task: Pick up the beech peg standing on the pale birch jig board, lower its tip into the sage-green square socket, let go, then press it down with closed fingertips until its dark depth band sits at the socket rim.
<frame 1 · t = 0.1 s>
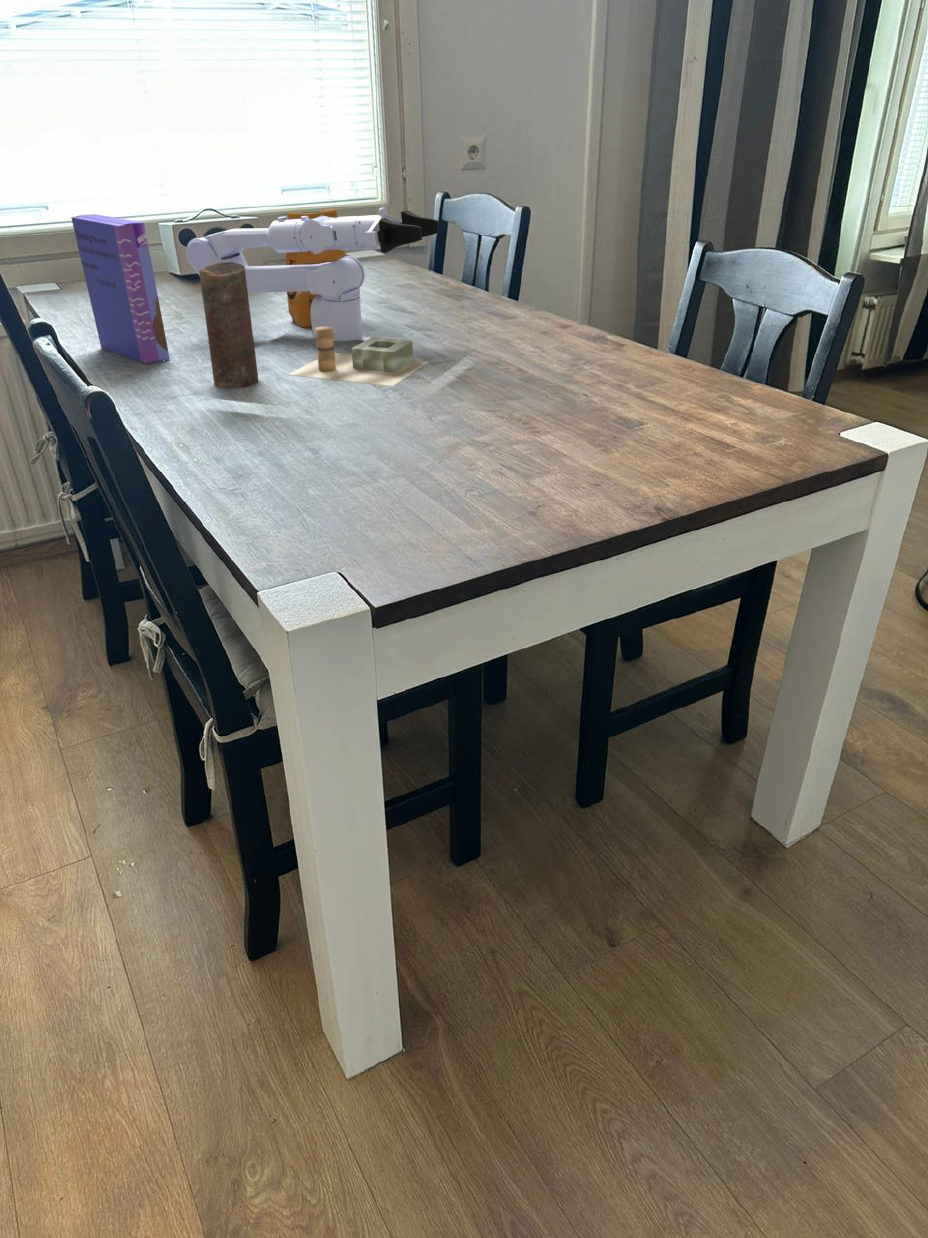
hand: (429, 229, 155), 22 cm above the table, tool horizontal, fingers open, 7 cm apart
cereal box: (135, 354, 168), on the table
coffee package: (320, 322, 189), on the table
candle: (238, 391, 148), on the table
peg: (327, 369, 152), point 1 cm above the table, touching board
board: (360, 376, 154), on the table
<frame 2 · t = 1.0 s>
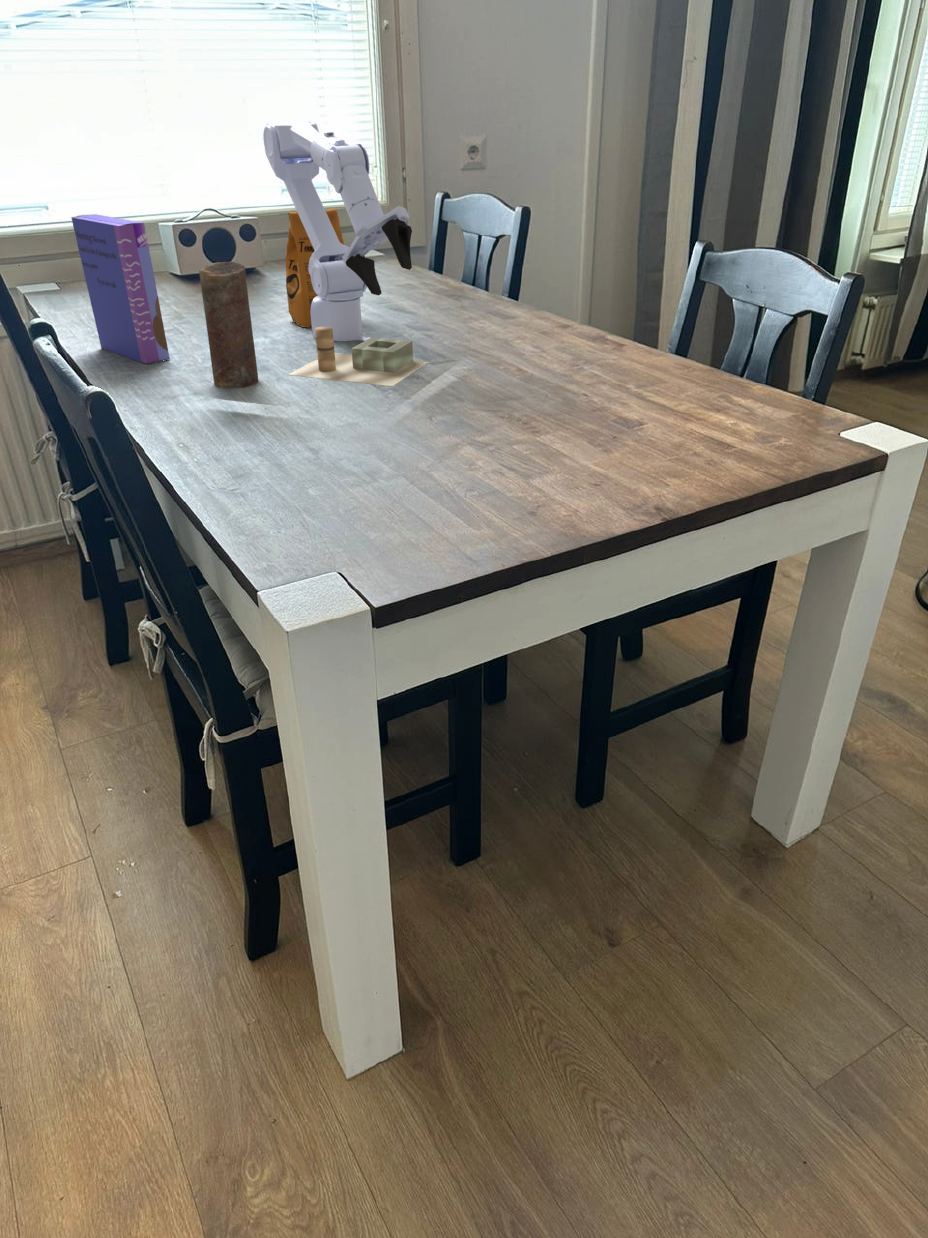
hand: (391, 280, 148), 15 cm above the table, tool tilted 45°, fingers open, 7 cm apart
nothing on the table moved.
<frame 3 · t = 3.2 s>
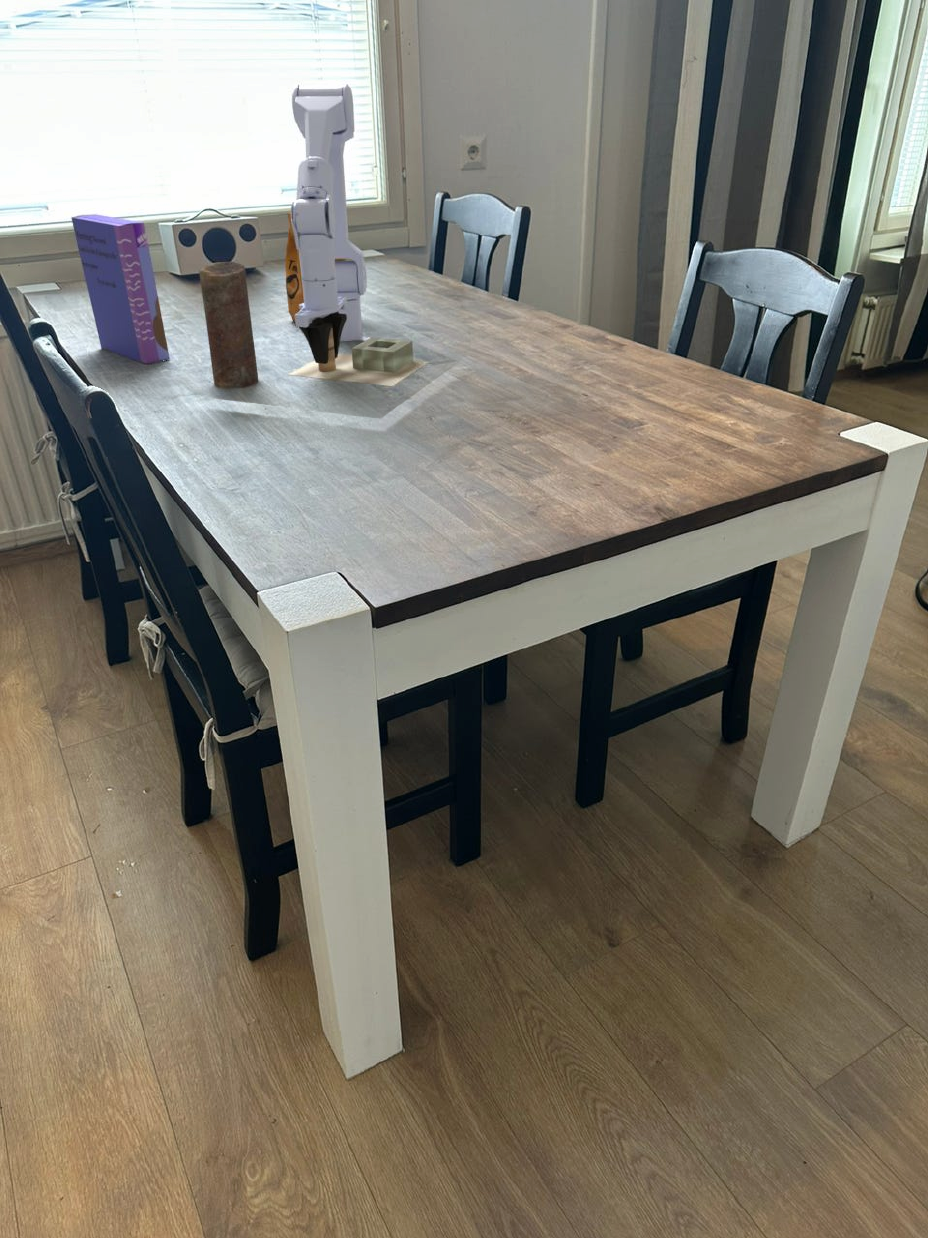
hand: (326, 360, 152), 3 cm above the table, tool pointing down, fingers closed on peg, 3 cm apart
peg: (327, 369, 152), point 1 cm above the table, touching board, gripper
everything else where it was.
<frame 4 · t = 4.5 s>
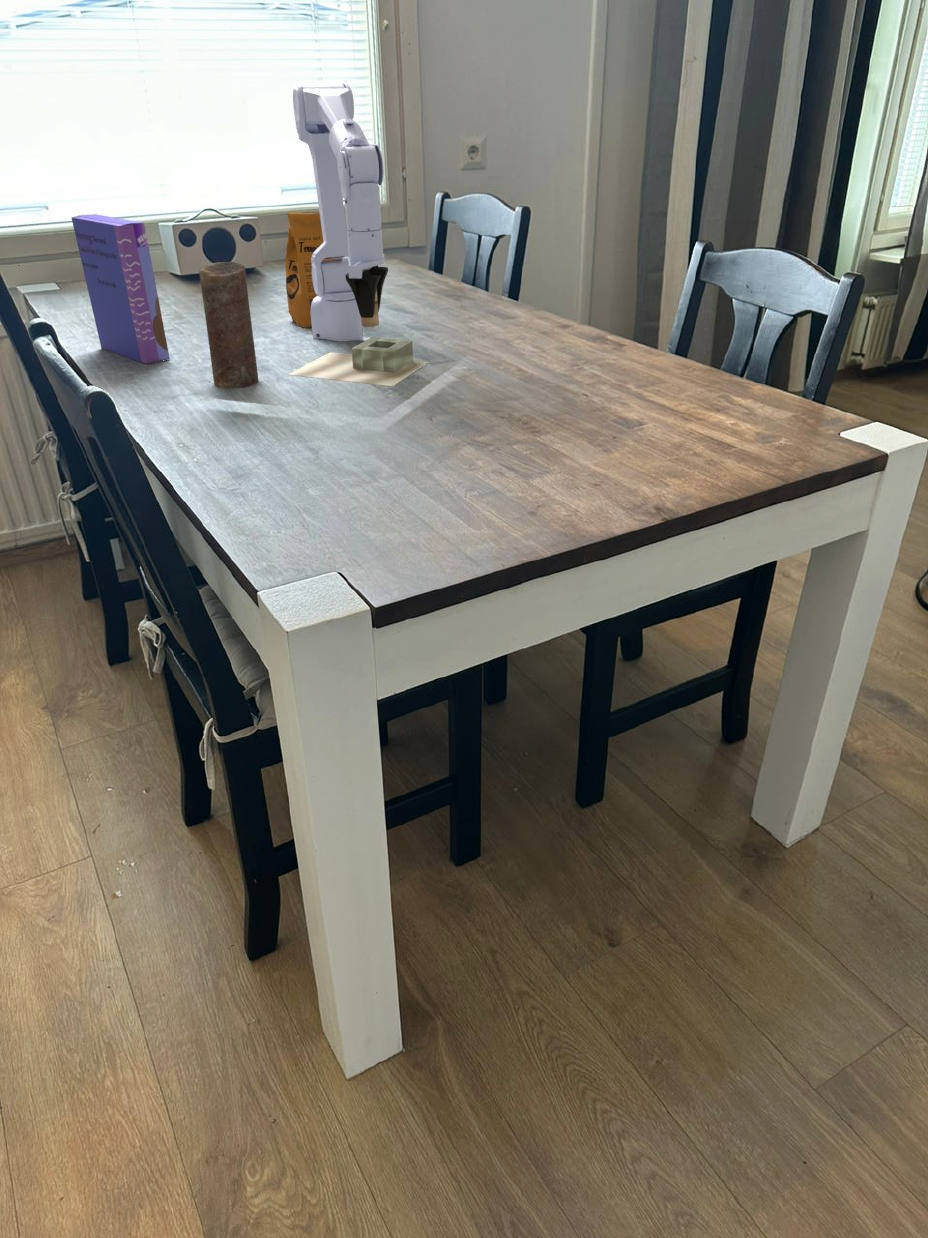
hand: (369, 314, 150), 10 cm above the table, tool pointing down, fingers closed on peg, 3 cm apart
peg: (370, 324, 151), point 9 cm above the table, touching gripper
everything else where it was.
when the fingers open (6 cm above the table, at t = 5.8 s): peg drops 3 cm, resting on board.
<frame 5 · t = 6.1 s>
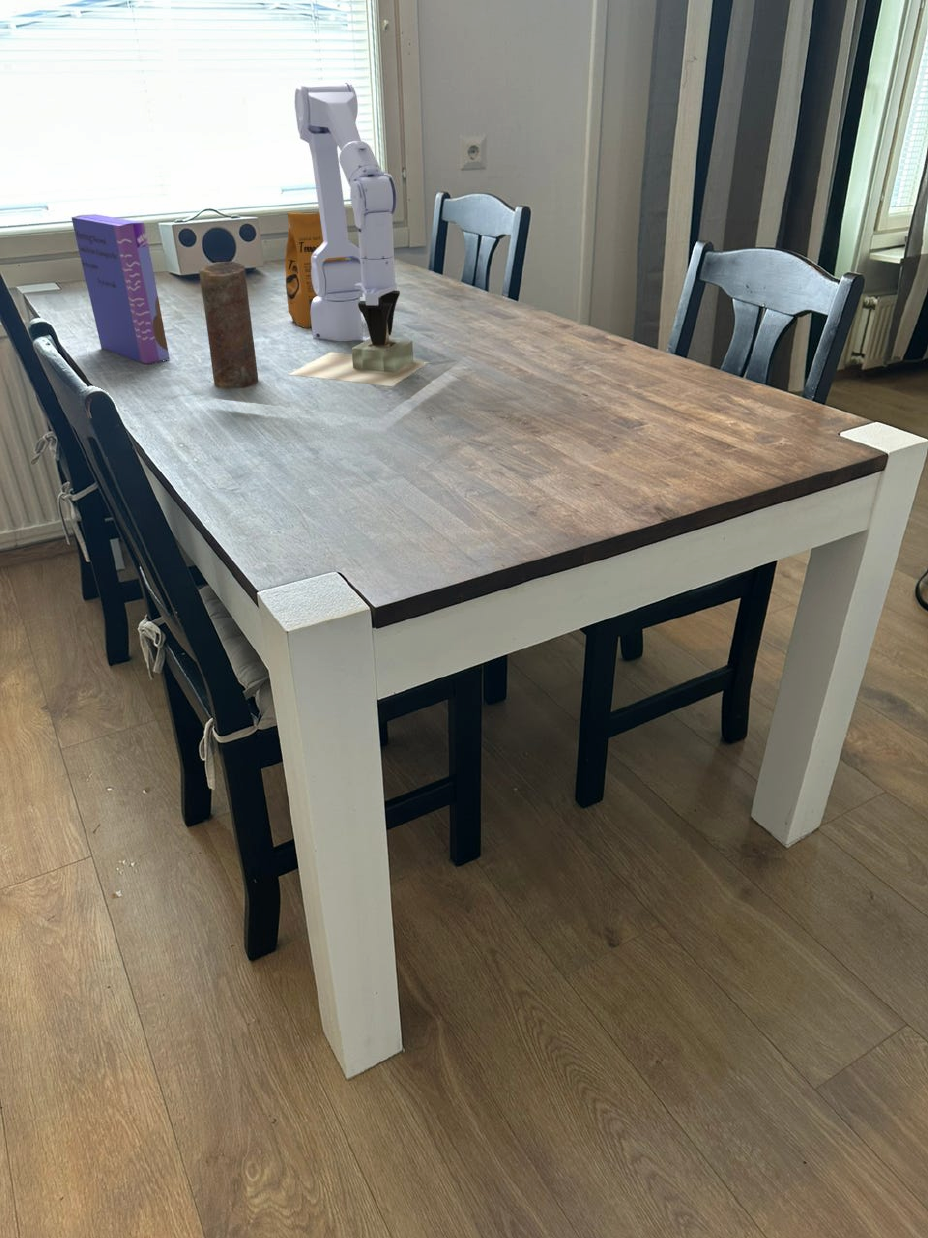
hand: (381, 339, 152), 6 cm above the table, tool pointing down, fingers open, 6 cm apart
peg: (383, 363, 155), point 2 cm above the table, touching board
everything else where it was.
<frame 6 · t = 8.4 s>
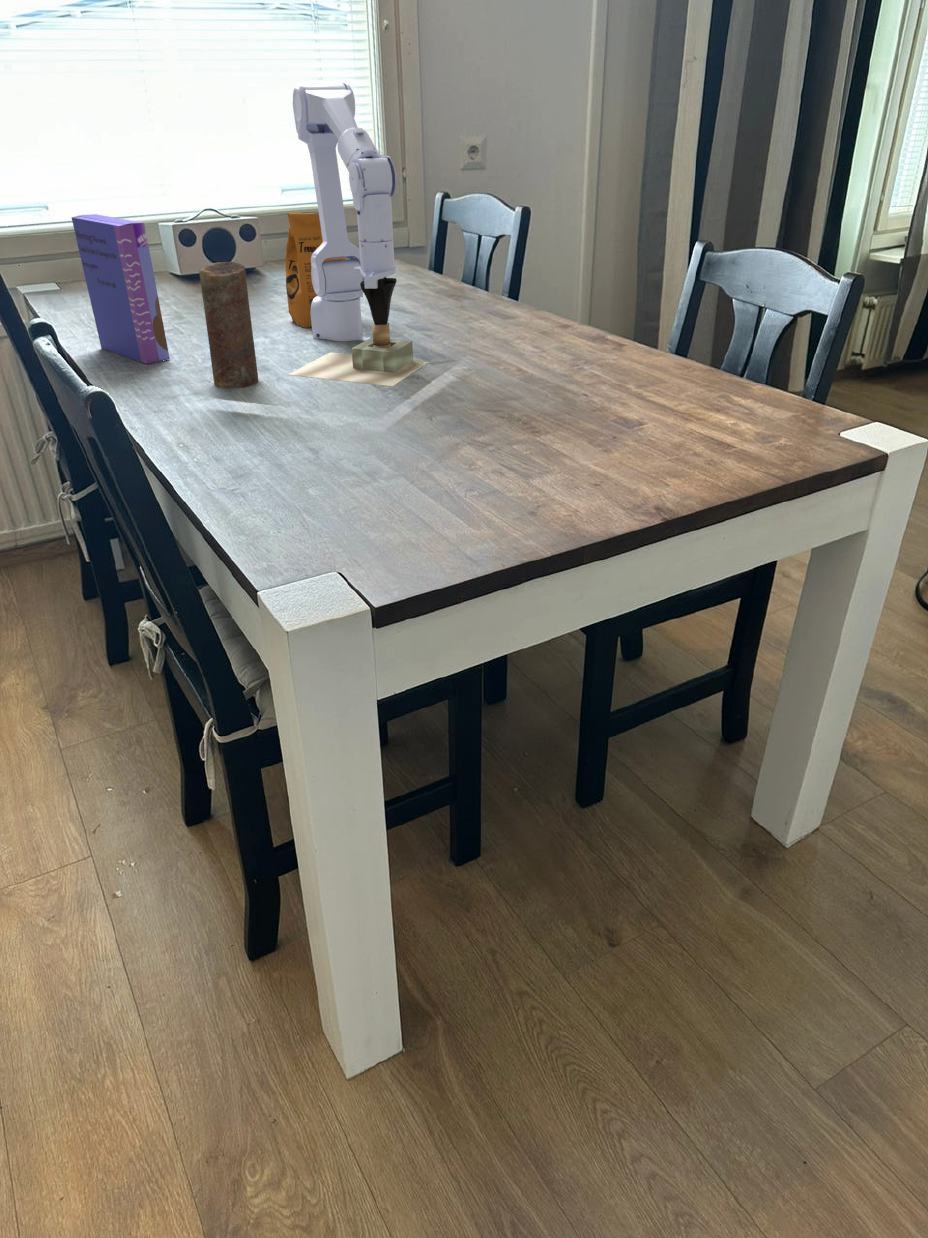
hand: (381, 323, 151), 9 cm above the table, tool pointing down, fingers closed, pressing on peg
peg: (383, 364, 155), point 2 cm above the table, touching board, gripper
everything else where it was.
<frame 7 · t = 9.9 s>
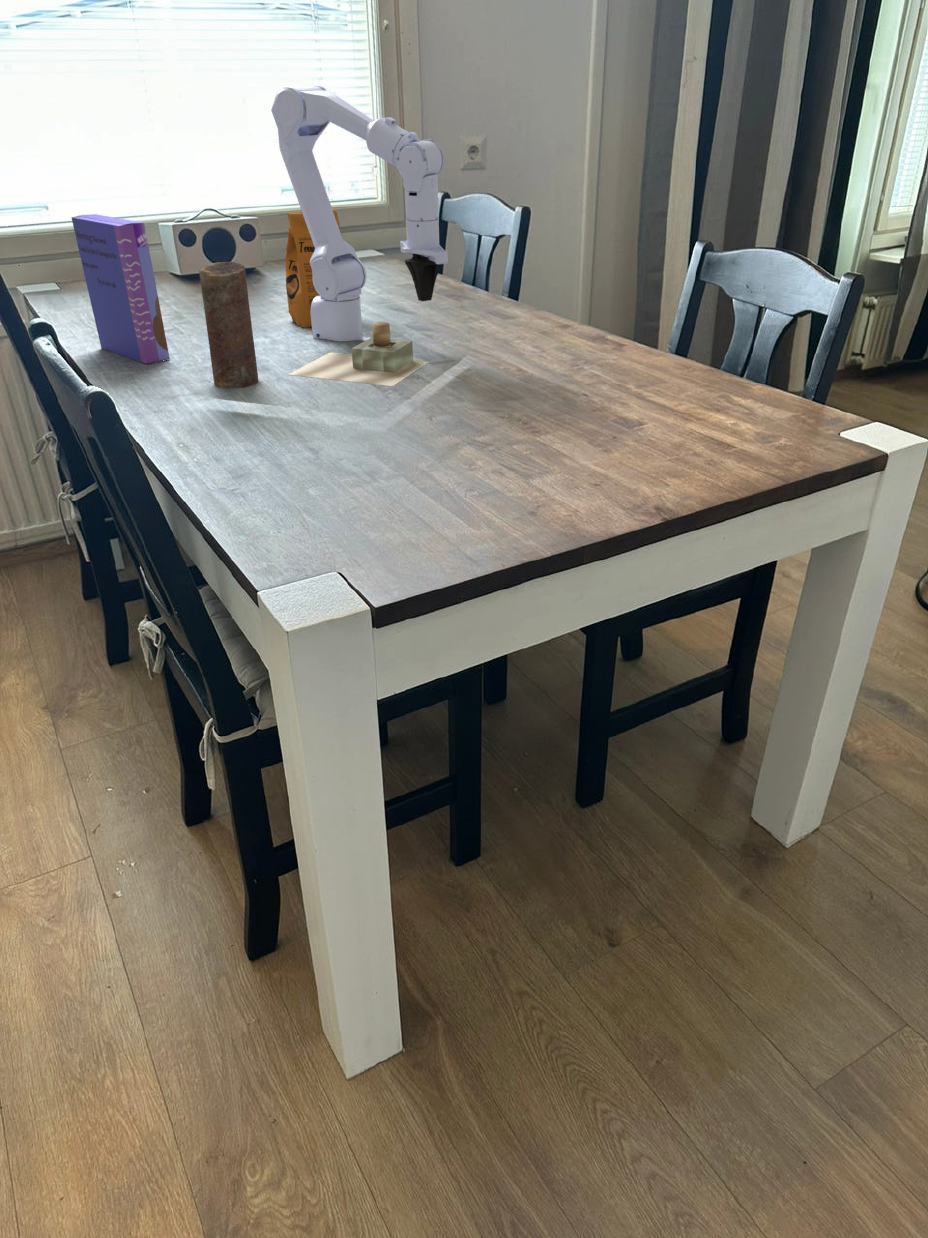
hand: (425, 300, 159), 10 cm above the table, tool pointing down, fingers closed
peg: (383, 364, 155), point 1 cm above the table, touching board
everything else where it was.
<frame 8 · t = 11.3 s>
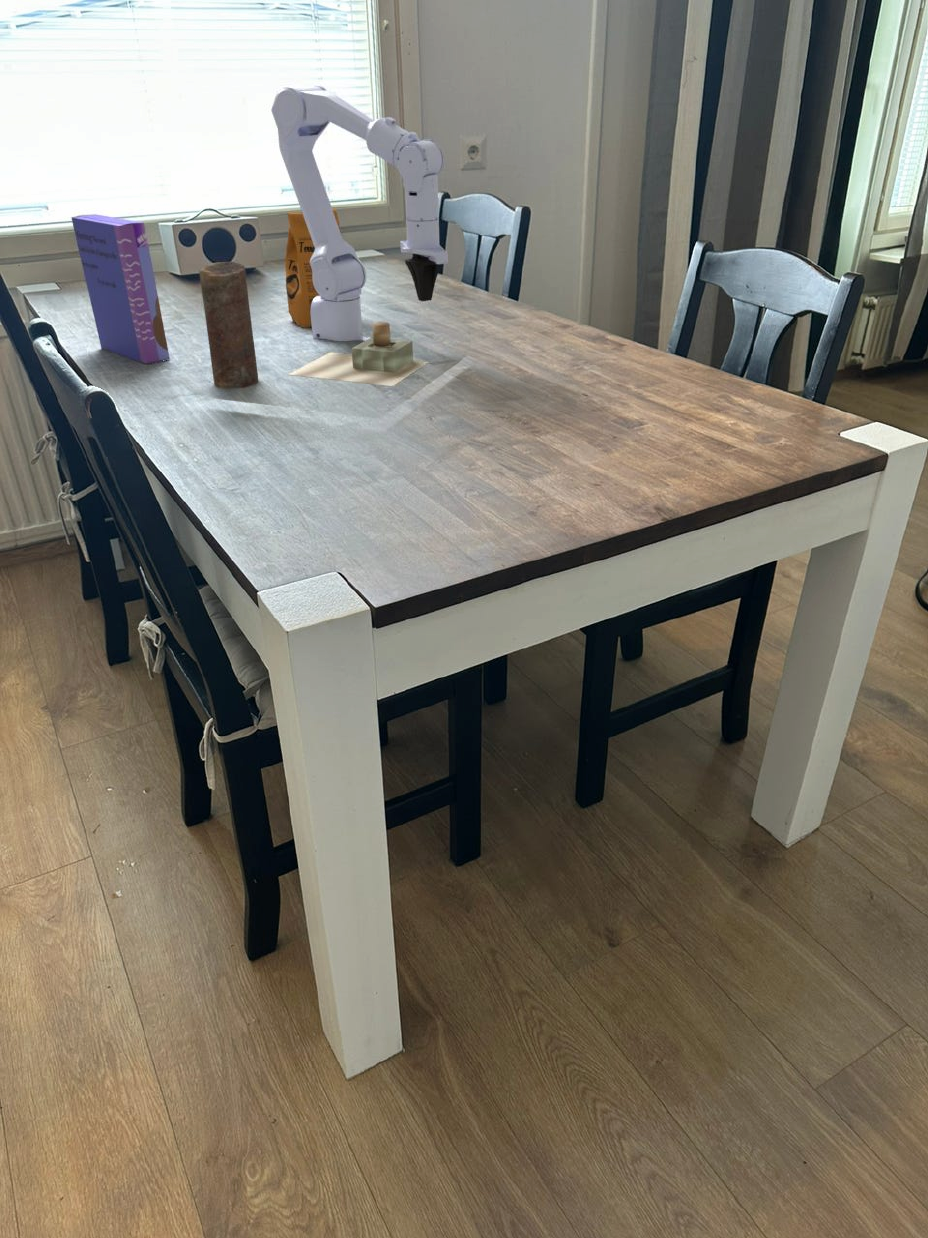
hand: (425, 300, 159), 10 cm above the table, tool pointing down, fingers closed
nothing on the table moved.
at the end: peg 0.0 cm from the target spot on the board, point 1.5 cm above the board's base; peg tilted 0°; the gripper is holding nothing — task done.
